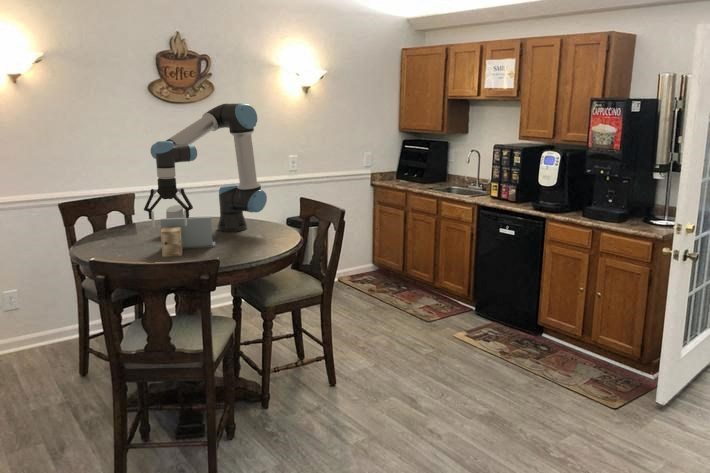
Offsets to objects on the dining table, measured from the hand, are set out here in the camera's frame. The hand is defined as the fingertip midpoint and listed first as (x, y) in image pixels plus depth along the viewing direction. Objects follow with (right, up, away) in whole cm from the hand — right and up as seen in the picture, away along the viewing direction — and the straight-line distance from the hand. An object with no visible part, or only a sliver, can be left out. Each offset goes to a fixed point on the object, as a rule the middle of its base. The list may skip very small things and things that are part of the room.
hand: (169, 226), depth 256 cm
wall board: (+4, -9, +16) cm, 19 cm away
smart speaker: (-10, -3, +42) cm, 44 cm away
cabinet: (0, -12, +5) cm, 13 cm away
